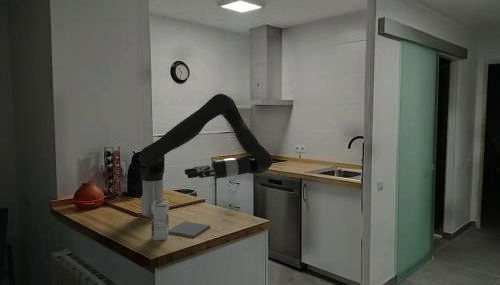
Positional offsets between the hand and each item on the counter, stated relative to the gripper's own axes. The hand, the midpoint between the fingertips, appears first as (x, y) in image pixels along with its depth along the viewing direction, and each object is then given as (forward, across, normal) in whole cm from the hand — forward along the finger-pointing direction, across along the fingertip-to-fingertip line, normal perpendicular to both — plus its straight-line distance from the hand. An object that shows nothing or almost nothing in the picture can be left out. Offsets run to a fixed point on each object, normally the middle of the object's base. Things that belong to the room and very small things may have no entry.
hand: (186, 173), depth 137 cm
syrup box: (+13, 0, +24) cm, 27 cm away
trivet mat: (+1, -5, +25) cm, 25 cm away
